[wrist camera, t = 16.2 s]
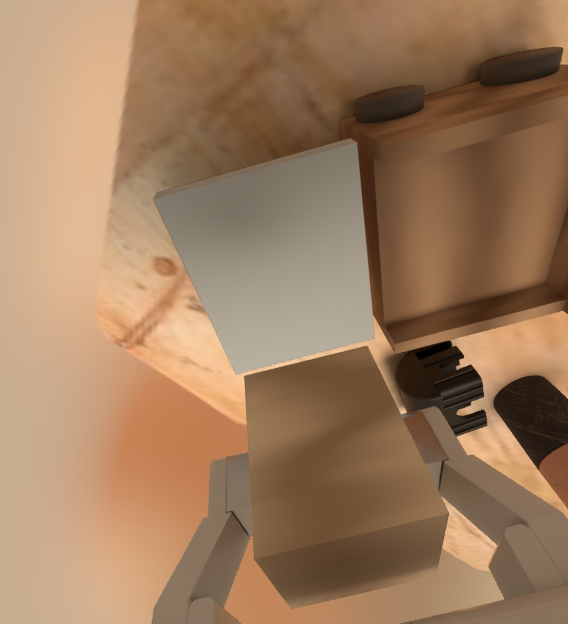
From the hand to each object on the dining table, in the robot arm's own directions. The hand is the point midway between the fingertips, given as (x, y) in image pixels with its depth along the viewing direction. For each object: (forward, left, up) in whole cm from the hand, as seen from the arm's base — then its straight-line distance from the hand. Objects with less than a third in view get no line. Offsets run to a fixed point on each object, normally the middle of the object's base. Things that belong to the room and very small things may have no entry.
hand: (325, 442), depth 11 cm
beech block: (0, 0, -2) cm, 2 cm away
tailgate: (-5, +2, -13) cm, 14 cm away
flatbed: (-13, +2, -19) cm, 23 cm away
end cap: (-12, +23, -20) cm, 33 cm away
